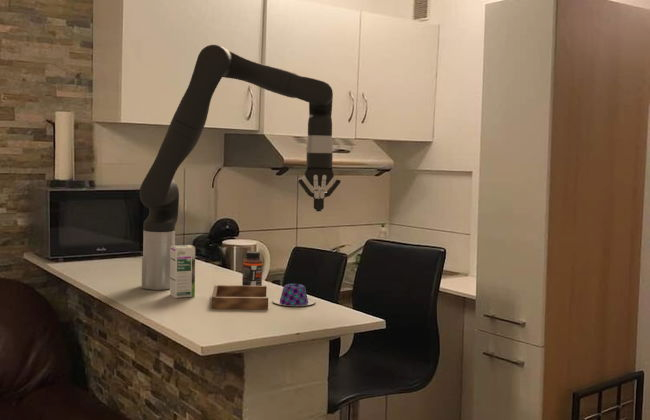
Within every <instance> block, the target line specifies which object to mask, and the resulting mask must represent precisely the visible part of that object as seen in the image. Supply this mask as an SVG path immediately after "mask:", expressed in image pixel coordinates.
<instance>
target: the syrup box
mask: <svg viewBox="0 0 650 420" xmlns="http://www.w3.org/2000/svg"><path fill="white" fill-rule="evenodd" d="M195 282H196V246H194V245H192V244H183V245H182V244H180V245H179V244H178V245H176V244H175V245H173V246H170V289H169V294H170V295H171V296H172V298H174V299H180V298H195V296H196V290H195V289H196V288H195V287H196V283H195Z"/></svg>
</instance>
